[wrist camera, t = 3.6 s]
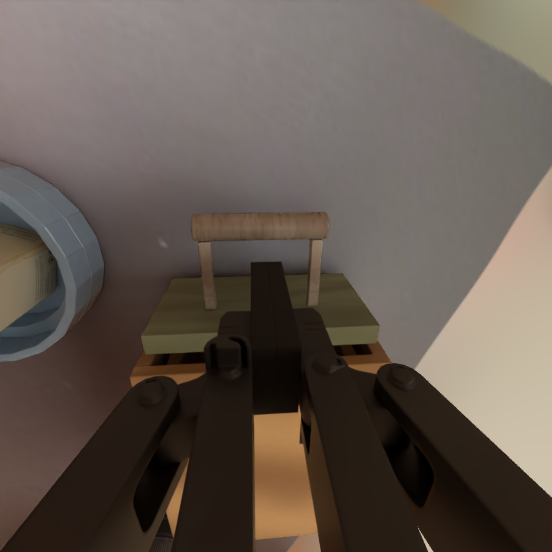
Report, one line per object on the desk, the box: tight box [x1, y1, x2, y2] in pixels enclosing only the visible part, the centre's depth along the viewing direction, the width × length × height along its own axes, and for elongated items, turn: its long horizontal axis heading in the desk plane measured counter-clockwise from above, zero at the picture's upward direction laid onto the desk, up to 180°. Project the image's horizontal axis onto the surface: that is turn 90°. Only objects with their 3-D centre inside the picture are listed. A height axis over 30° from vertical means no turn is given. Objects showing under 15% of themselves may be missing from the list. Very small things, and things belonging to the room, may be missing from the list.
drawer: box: [141, 212, 380, 365], centre depth 20 cm, size 21×12×7 cm, turn 0°
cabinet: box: [130, 340, 392, 540], centre depth 22 cm, size 17×14×9 cm
